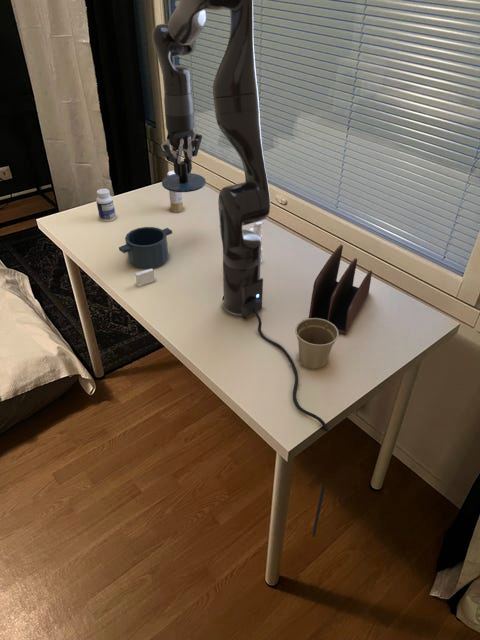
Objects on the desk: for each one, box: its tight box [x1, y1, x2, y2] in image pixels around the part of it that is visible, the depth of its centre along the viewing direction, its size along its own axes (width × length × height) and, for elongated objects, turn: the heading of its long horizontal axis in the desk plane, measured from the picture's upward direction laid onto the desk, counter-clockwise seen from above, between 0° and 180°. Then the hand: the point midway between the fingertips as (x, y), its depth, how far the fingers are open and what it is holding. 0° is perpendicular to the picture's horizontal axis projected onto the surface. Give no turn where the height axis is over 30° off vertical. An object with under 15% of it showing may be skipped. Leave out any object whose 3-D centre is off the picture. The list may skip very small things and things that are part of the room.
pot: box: [118, 226, 173, 270], centre depth 145 cm, size 12×17×7 cm
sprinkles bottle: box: [166, 170, 185, 213], centre depth 169 cm, size 5×5×14 cm
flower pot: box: [294, 317, 340, 370], centre depth 111 cm, size 9×9×9 cm
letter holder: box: [308, 244, 373, 336], centre depth 124 cm, size 10×20×14 cm, turn 152°
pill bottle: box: [95, 187, 116, 222], centre depth 165 cm, size 5×5×10 cm
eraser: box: [134, 268, 155, 287], centre depth 137 cm, size 1×5×4 cm, turn 122°
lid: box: [161, 160, 207, 193], centre depth 142 cm, size 13×13×7 cm
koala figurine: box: [247, 220, 265, 263], centre depth 143 cm, size 8×7×12 cm
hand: (183, 173), depth 142 cm, fingers closed on lid, 2 cm apart
